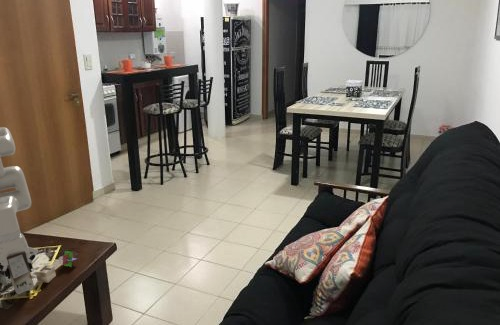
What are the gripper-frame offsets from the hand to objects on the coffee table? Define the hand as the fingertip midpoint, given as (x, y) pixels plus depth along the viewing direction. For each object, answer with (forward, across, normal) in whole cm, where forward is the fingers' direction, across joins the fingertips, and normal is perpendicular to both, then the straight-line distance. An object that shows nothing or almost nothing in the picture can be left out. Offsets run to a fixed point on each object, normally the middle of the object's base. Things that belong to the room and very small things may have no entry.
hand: (19, 273), depth 158 cm
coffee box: (+6, 0, 0) cm, 6 cm away
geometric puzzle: (+8, +19, +8) cm, 22 cm away
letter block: (+8, +9, +3) cm, 12 cm away
